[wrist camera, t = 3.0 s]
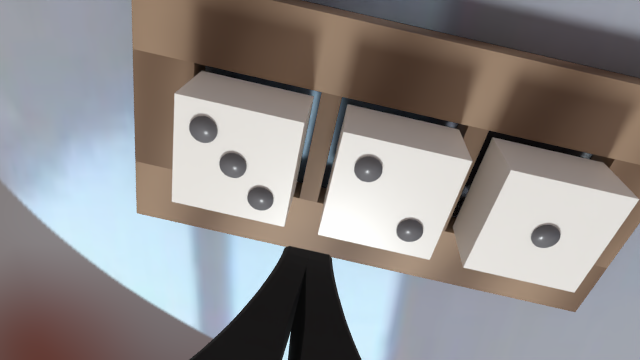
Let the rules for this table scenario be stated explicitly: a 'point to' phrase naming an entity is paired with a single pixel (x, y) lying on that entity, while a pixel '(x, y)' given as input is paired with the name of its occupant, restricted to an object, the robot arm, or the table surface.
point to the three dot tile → (238, 146)
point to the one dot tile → (539, 215)
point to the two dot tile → (393, 182)
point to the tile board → (381, 89)
